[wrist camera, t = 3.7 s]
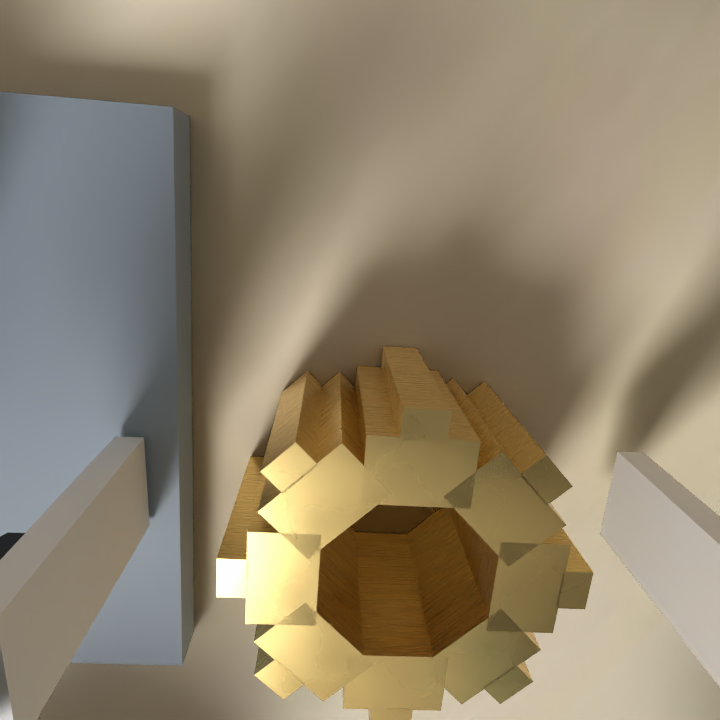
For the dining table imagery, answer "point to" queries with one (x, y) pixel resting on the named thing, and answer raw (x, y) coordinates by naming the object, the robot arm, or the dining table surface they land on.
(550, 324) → the dining table surface
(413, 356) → the brass gear
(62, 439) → the gear board
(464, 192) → the dining table surface
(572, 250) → the dining table surface
